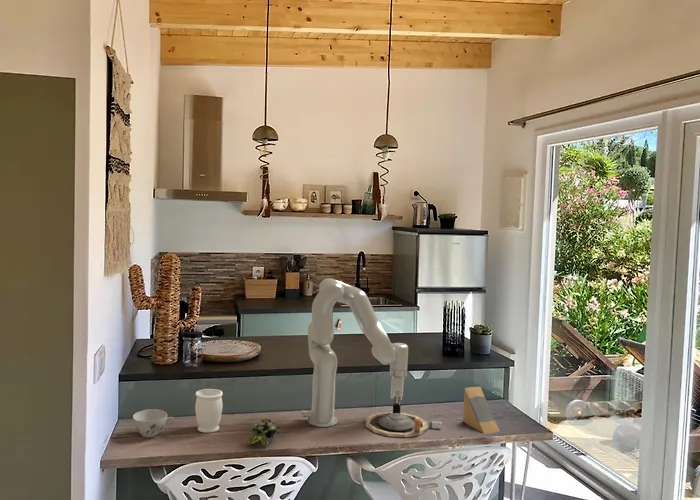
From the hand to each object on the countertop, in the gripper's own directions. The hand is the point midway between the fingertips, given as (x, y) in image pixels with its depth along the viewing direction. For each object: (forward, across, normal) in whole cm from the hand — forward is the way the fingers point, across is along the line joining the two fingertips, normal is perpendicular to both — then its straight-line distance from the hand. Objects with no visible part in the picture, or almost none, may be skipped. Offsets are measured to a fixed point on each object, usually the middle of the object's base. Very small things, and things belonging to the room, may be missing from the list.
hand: (396, 413), depth 262 cm
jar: (+2, +28, -75) cm, 80 cm away
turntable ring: (+2, +9, 0) cm, 9 cm away
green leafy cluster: (+2, +38, -49) cm, 63 cm away
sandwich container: (+3, +3, +36) cm, 36 cm away
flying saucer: (+3, +10, 0) cm, 10 cm away
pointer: (+2, +9, +17) cm, 19 cm away
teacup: (+2, +37, -93) cm, 101 cm away
